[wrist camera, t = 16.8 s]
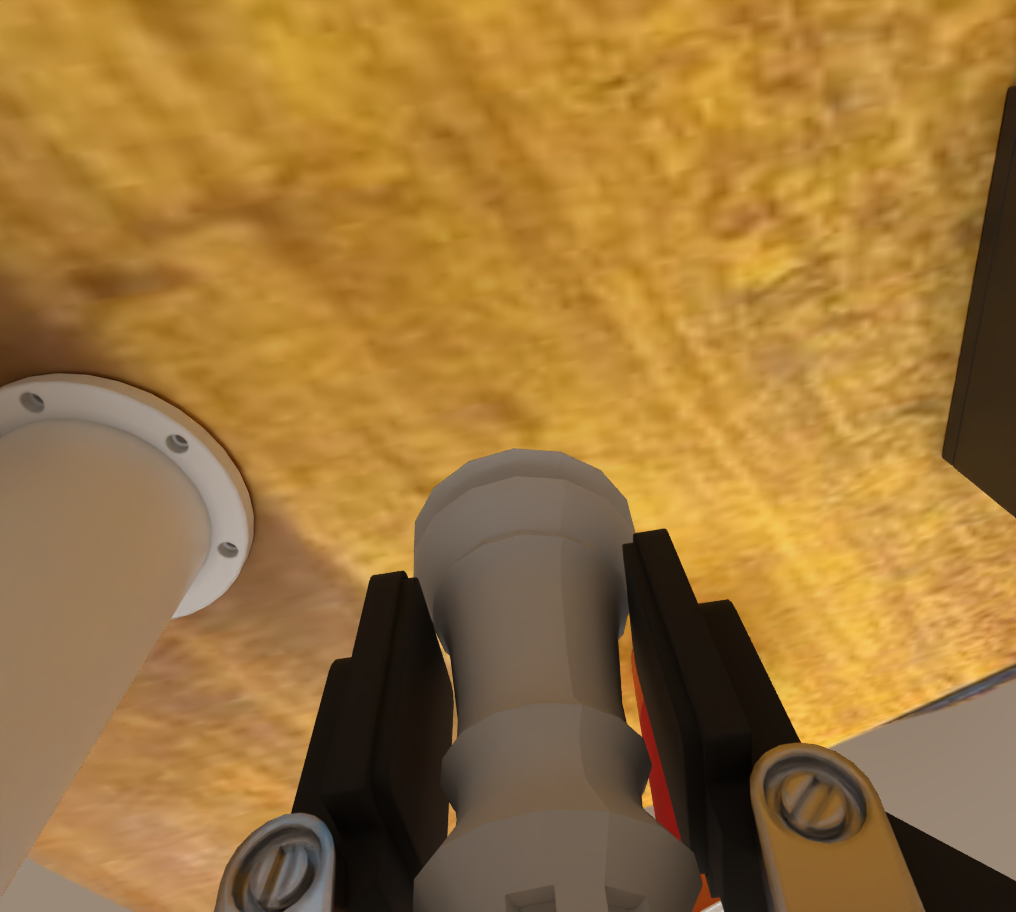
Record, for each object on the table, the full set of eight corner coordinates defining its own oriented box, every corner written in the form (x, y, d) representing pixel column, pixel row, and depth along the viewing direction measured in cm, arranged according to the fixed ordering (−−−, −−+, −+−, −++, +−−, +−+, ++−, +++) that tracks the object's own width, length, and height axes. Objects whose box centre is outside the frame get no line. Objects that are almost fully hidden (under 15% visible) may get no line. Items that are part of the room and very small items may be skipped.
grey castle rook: (443, 410, 12) (391, 845, 5) (664, 466, 13) (884, 912, 6) (394, 591, 14) (307, 1077, 7) (587, 629, 15) (680, 1104, 8)
